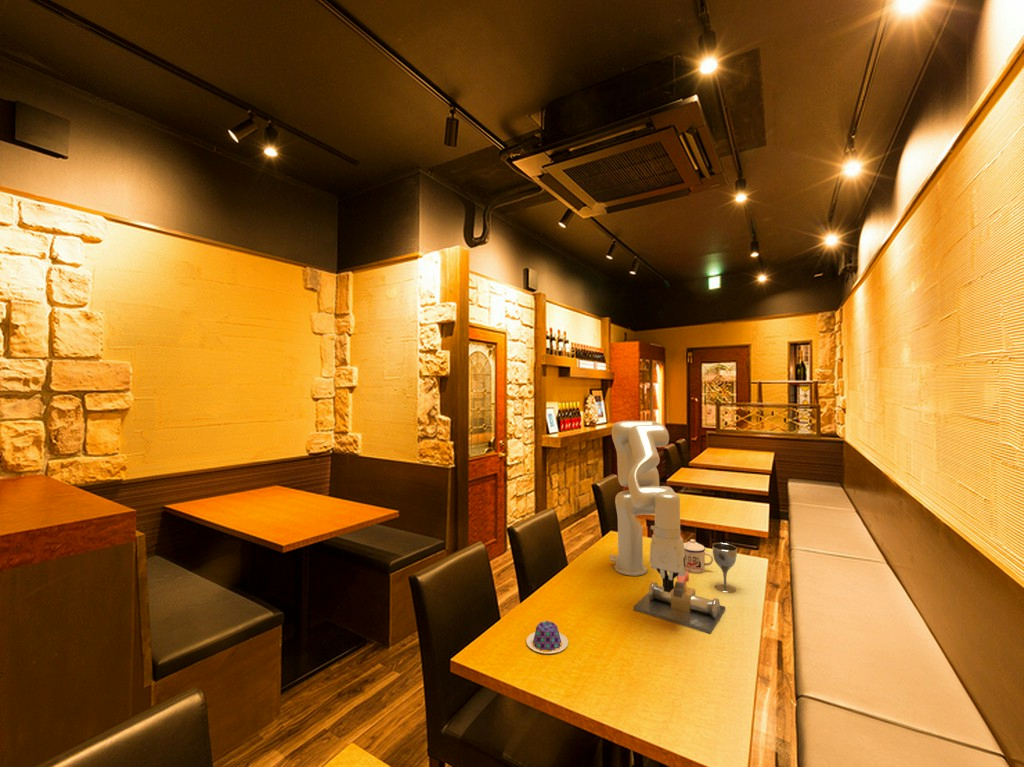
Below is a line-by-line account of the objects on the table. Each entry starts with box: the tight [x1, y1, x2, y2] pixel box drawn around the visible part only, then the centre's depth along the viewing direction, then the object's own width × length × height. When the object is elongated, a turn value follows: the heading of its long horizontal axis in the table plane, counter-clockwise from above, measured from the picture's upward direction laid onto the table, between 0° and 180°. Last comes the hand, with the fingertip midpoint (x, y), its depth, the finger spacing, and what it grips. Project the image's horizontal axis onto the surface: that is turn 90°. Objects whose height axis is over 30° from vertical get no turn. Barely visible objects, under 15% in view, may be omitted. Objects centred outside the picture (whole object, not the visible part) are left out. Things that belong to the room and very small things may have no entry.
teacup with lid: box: [683, 538, 714, 574], centre depth 180 cm, size 12×9×12 cm
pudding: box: [526, 620, 569, 654], centre depth 130 cm, size 12×12×5 cm
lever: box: [673, 571, 690, 598], centre depth 142 cm, size 16×4×2 cm, turn 153°
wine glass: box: [712, 542, 738, 593], centre depth 163 cm, size 8×8×15 cm
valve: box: [632, 581, 726, 634], centre depth 148 cm, size 24×18×10 cm
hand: (668, 590), depth 141 cm, fingers closed
